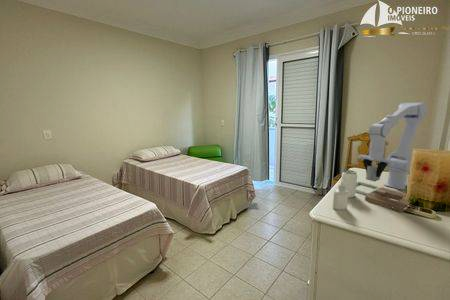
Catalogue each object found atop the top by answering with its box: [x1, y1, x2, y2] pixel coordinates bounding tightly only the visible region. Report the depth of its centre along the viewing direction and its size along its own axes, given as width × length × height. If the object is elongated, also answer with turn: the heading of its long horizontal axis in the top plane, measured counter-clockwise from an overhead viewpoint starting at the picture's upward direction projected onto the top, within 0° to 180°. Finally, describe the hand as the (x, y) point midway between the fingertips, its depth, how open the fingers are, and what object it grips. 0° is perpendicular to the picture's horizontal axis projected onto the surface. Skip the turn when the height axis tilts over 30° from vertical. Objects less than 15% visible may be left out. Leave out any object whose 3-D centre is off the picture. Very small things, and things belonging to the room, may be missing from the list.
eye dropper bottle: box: [332, 181, 349, 211], centre depth 88 cm, size 4×6×12 cm
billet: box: [365, 163, 381, 182], centre depth 102 cm, size 5×4×7 cm
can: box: [340, 169, 358, 199], centre depth 101 cm, size 6×6×12 cm
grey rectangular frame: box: [355, 180, 382, 196], centre depth 108 cm, size 14×11×1 cm
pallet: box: [364, 186, 410, 213], centre depth 95 cm, size 18×14×2 cm
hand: (373, 175), depth 102 cm, fingers closed on billet, 4 cm apart
